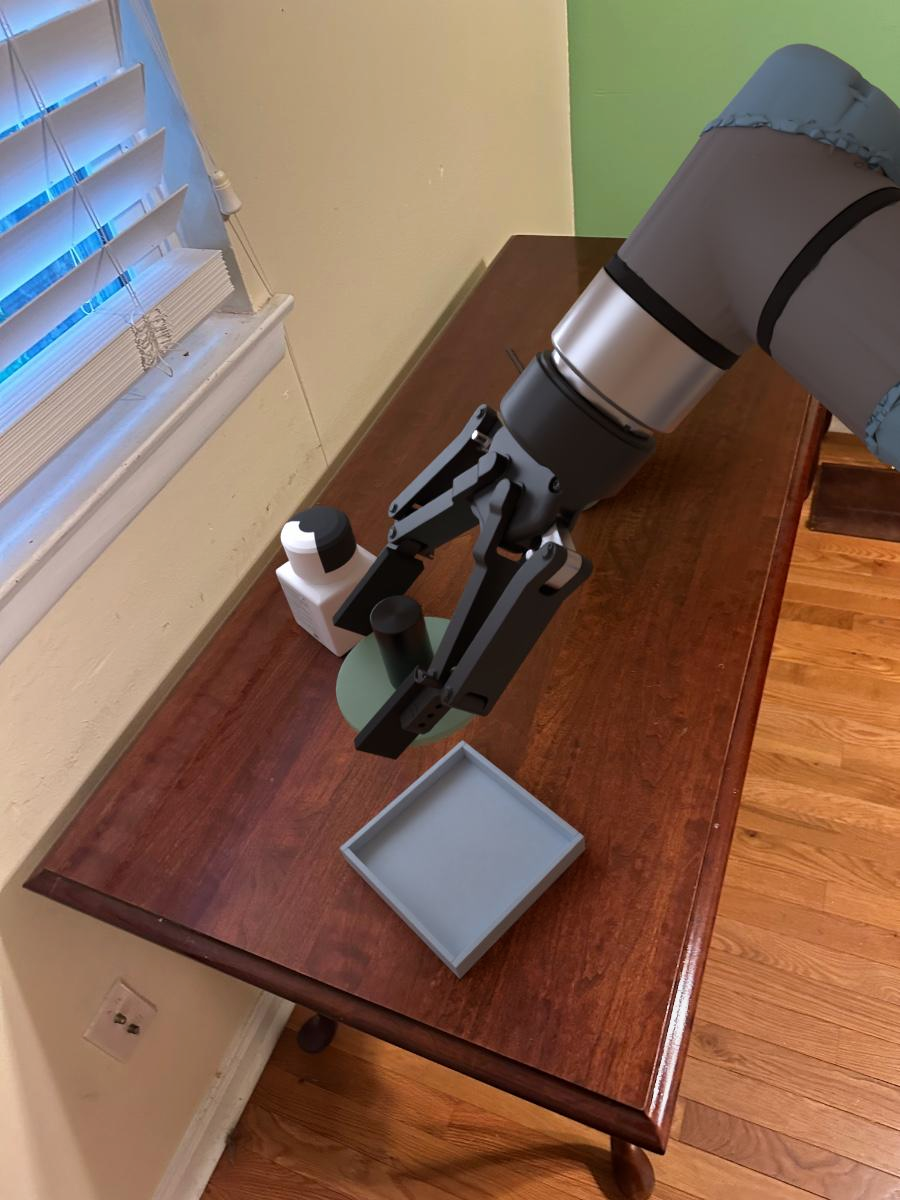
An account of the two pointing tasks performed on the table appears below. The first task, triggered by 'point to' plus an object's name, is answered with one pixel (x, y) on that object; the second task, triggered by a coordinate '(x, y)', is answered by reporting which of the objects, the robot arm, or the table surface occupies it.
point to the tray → (463, 855)
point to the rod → (515, 360)
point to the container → (322, 572)
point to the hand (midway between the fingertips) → (362, 684)
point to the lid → (393, 665)
